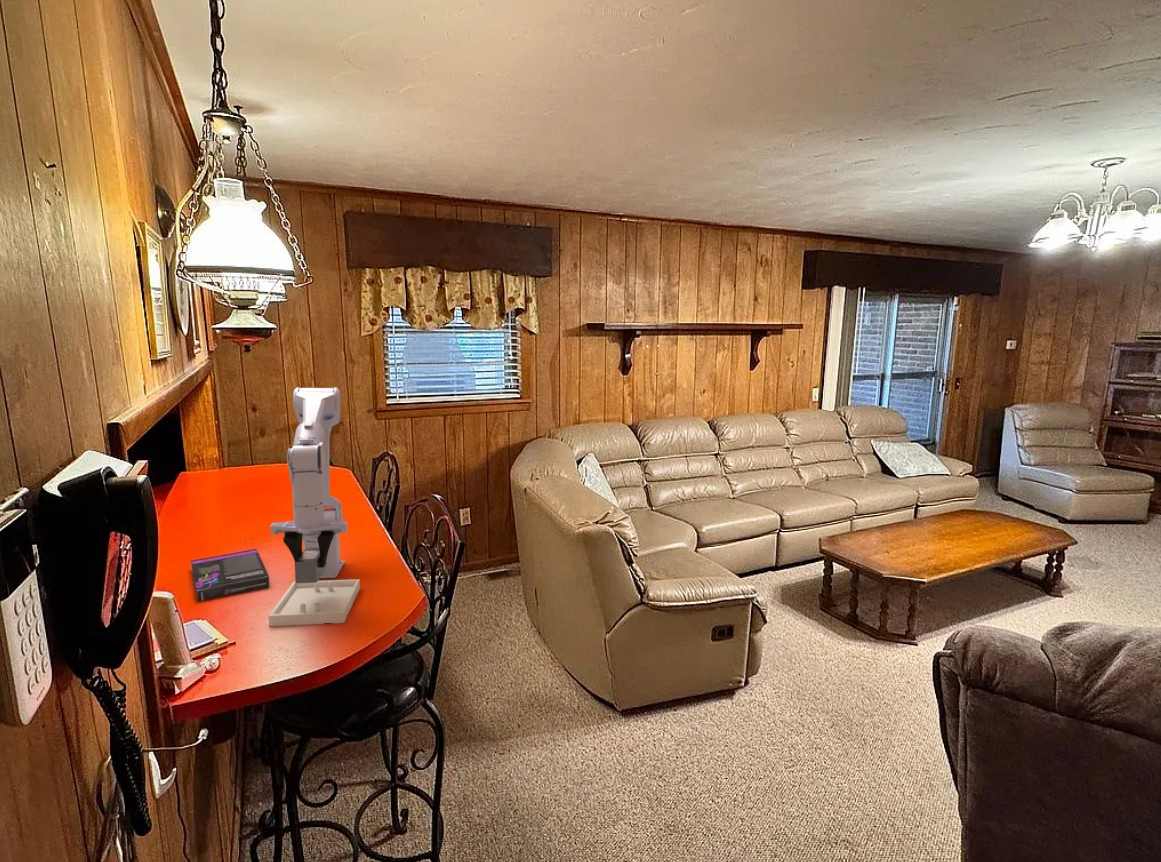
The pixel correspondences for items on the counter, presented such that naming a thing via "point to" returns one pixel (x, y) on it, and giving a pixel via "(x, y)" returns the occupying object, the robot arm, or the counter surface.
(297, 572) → the block
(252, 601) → the counter surface
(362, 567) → the counter surface
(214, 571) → the box
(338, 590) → the tray
